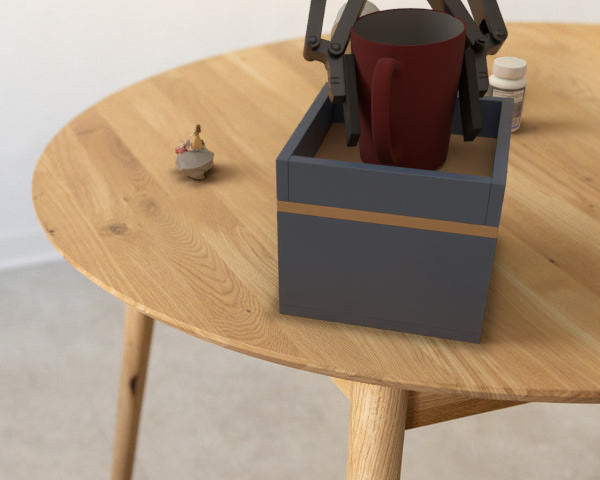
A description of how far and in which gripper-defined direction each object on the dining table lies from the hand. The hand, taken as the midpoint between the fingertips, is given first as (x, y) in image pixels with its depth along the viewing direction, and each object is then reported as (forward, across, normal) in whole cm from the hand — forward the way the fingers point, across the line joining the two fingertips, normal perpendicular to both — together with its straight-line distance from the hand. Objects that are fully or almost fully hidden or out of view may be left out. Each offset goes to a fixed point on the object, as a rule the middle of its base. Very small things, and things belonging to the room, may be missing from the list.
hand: (413, 137), depth 61 cm
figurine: (-8, +18, -29) cm, 35 cm away
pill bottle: (-14, -20, -36) cm, 43 cm away
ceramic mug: (-35, -7, -56) cm, 67 cm away
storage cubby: (+8, 0, -13) cm, 15 cm away
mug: (+1, 0, -5) cm, 5 cm away
